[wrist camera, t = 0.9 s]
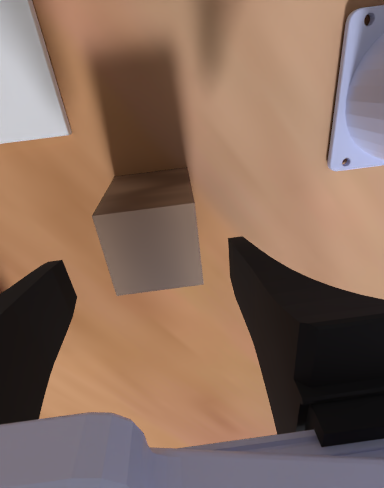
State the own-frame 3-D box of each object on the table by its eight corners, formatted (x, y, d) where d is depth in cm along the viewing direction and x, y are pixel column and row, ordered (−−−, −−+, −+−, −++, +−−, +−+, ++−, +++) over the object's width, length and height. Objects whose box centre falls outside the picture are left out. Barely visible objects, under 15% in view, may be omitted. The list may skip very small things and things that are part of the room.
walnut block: (186, 167, 18) (194, 202, 12) (194, 231, 20) (203, 284, 15) (114, 176, 18) (91, 216, 12) (130, 239, 20) (116, 295, 15)
